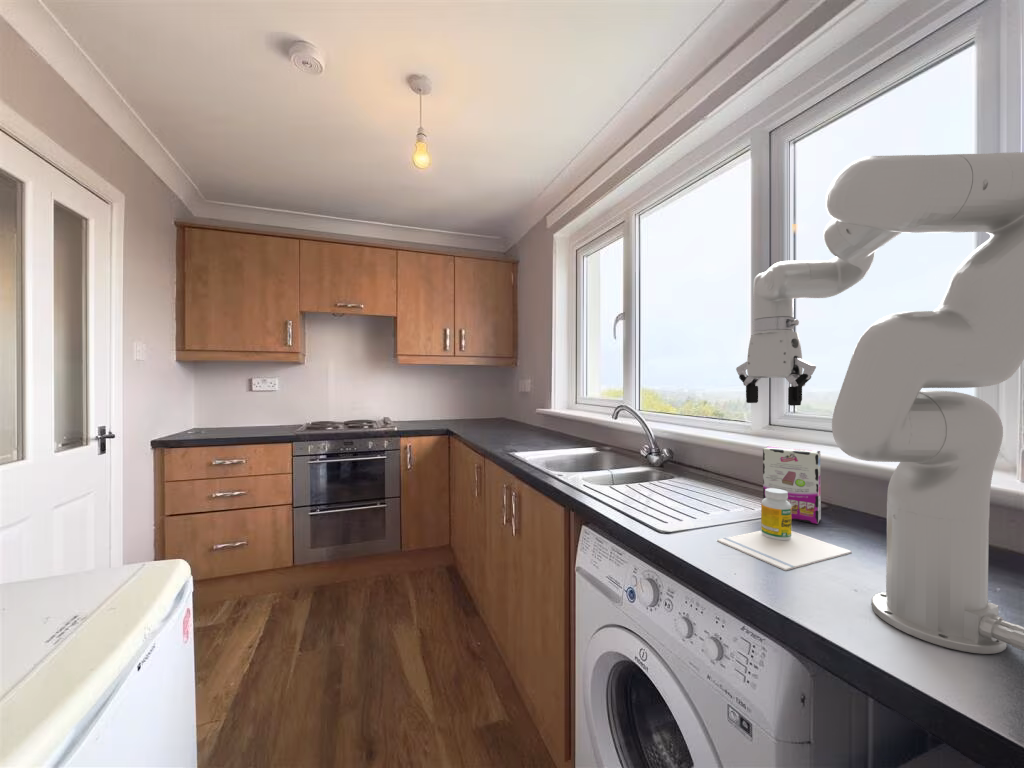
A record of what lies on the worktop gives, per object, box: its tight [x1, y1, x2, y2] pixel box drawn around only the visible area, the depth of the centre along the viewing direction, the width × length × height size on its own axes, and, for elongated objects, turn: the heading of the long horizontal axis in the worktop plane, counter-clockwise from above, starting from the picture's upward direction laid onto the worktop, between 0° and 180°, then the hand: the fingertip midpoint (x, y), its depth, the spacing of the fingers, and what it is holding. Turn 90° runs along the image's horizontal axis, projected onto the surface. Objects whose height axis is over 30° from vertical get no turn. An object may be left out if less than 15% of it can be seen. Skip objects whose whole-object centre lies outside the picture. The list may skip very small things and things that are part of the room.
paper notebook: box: [716, 530, 853, 572], centre depth 81 cm, size 14×19×1 cm
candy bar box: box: [762, 446, 822, 525], centre depth 98 cm, size 11×5×16 cm, turn 47°
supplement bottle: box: [760, 488, 793, 540], centre depth 85 cm, size 5×5×10 cm
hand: (772, 404), depth 91 cm, fingers open, 9 cm apart
